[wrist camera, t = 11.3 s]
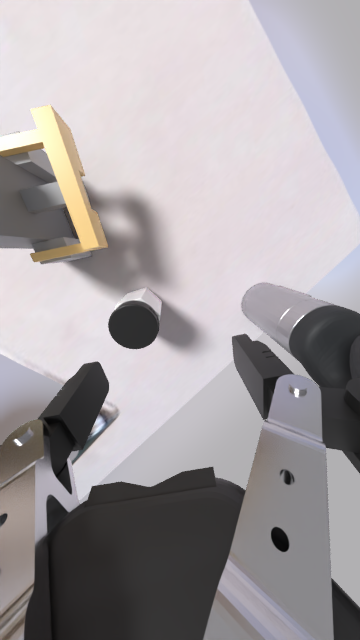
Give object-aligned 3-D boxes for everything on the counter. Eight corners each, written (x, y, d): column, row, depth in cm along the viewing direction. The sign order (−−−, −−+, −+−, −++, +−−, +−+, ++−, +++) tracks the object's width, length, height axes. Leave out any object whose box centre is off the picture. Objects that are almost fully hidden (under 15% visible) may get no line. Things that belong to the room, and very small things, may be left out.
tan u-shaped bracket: (70, 129, 22) (50, 104, 18) (108, 247, 27) (99, 246, 24) (-16, 148, 22) (-53, 127, 18) (39, 261, 27) (19, 263, 24)
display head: (90, 153, 29) (-2, 39, 13) (120, 249, 35) (80, 249, 19) (11, 172, 29) (-173, 80, 13) (53, 264, 35) (-40, 276, 19)
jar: (156, 327, 42) (152, 355, 30) (122, 320, 40) (105, 346, 29) (165, 291, 39) (164, 308, 27) (128, 282, 37) (111, 296, 26)
